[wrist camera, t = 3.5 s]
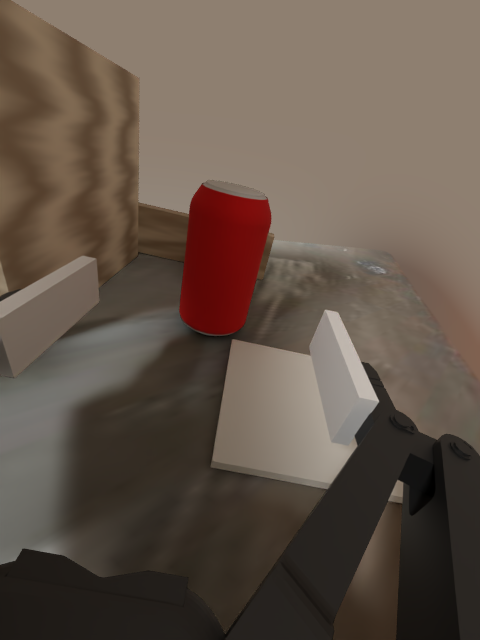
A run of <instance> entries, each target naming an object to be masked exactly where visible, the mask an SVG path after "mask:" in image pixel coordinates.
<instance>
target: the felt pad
mask: <svg viewBox="0 0 480 640" xmlns="http://www.w3.org/2000/svg"><path fill="white" fill-rule="evenodd" d="M356 447H357V442H356V439H355V437H354V439H353V440H352V441H351V443H350V444H349V446H347V445H342V444H337V443H332V442H331V440H330V436H329V432H328V427H327V423H326V419H325V414H324V410H323V406H322V401H321V397H320V393H319V388H318V384H317V379H316V375H315V371H314V366H313V362H312V358H311V356H310V355H305V354H301V353H296V352H291V351H287V350H282V349H277V348H272V347H268V346H263V345H258V344H254V343H249V342H244V341H239V340H235V339H232V343H231V348H230V354H229V360H228V366H227V372H226V378H225V384H224V389H223V395H222V401H221V407H220V413H219V419H218V425H217V431H216V437H215V443H214V449H213V455H212V461H211V467H212V468H217V469H222V470H228V471H233V472H238V473H244V474H249V475H254V476H259V477H265V478H270V479H275V480H281V481H286V482H291V483H296V484H302V485H307V486H312V487H318V488H323V489H328V487H329V486H330V485H331V483H332V482H333V480H334V479H335V477H336V476H337V475H338V473H339V472H340V470H341V469H342V467H343V466H344V465H345V463H346V462H347V460H348V458H349V457H350V456H351V454H352V453H353V452H354V450H355V449H356ZM388 501H392V502H397V503H402V501H403V482H401V481H399V480H397V482H396V484H395V487H394V489H393V491H392V493H391V495H390V498H389V500H388Z"/></svg>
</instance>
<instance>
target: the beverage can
mask: <svg viewBox="0 0 480 640" xmlns="http://www.w3.org/2000/svg"><path fill="white" fill-rule="evenodd" d="M270 224H271V211H270V207H269V203H268V199H267V197H266V196H265V194H264V193H262V192H260V191H258V190H255V189H252V188H249V187H245V186H241V185H237V184H233V183H228V182H222V181H214V180H207V181H206V182H205V183H202V185H201V186H200V188H199V189H198V190H197V192H196V193H195V195H194V196H193V198H192V201H191V204H190V211H189V221H188V230H187V240H186V250H185V260H184V269H183V279H182V289H181V298H180V308H179V312H180V316H181V319H182V321H183V322H184V323H185V324H186V325H187V326H188V327H189V328H191V329H192V330H194V331H196V332H199V333H202V334H205V335H210V336H225V335H229V334H232V333H235V332H236V331H238V330H239V329H241V328H242V327H243V325H244V324H245V321H246V317H247V314H248V310H249V306H250V302H251V298H252V294H253V290H254V287H255V283H256V279H257V275H258V271H259V267H260V263H261V259H262V256H263V252H264V248H265V244H266V240H267V236H268V232H269V228H270Z"/></svg>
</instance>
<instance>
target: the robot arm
mask: <svg viewBox="0 0 480 640" xmlns="http://www.w3.org/2000/svg"><path fill="white" fill-rule="evenodd" d="M99 302H100V299H99V285H98V272H97V259H96V258H92V257H87V256H81V257H79V258H77V259H76V260H74V261H72V262H70V263H68V264H67V265H65V266H63V267H61V268H59V269H58V270H56V271H54V272H52V273H51V274H49V275H47V276H45V277H43V278H42V279H40V280H38V281H36V282H34V283H33V284H31V285H29V286H27V287H26V288H24V289H18V290H15V291H11V292H8V293H5V294H3V295H1V296H0V376H5V377H10V378H15V377H16V376H18V375H19V374H20V373H21V372H22V371H23V370H24V369H25V368H26V367H28V366H29V365H30V364H31V363H32V362H33V361H34V360H35V359H36V358H38V357H39V356H40V355H41V354H42V353H43V352H44V351H45V350H46V349H48V348H49V347H50V346H51V345H52V344H53V343H54V342H55V341H56V340H58V339H59V338H60V337H61V336H62V335H63V334H64V333H65V332H66V331H68V330H69V329H70V328H71V327H72V326H73V325H74V324H75V323H77V322H78V321H79V320H80V319H81V318H82V317H83V316H84V315H85V314H87V313H88V312H89V311H90V310H91V309H92V308H93V307H94V306H95V305H97V304H98V303H99ZM309 349H310V353H311V358H312V362H313V366H314V371H315V375H316V379H317V384H318V388H319V393H320V397H321V401H322V406H323V410H324V414H325V419H326V423H327V427H328V432H329V436H330V440H331V442H332V443H337V444H342V445H347V446H349V444H350V443H351V441H352V440H353V439H354V437H355V439H356V442H357V447H356V449H355V450H354V452H353V453H352V454H351V456H350V457H349V458H348V460H347V462H346V463H345V465H344V466H343V467H342V469H341V470H340V472H339V473H338V475H337V476H336V477H335V479H334V480H333V482H332V483H331V485H330V486H329V487H328V489H327V490H326V492H325V493H324V495H323V496H322V497H321V499H320V500H319V502H318V503H317V505H316V506H315V507H314V509H313V510H312V512H311V513H310V515H309V516H308V517H307V519H306V520H305V522H304V523H303V525H302V526H301V527H300V529H299V530H298V532H297V533H296V535H295V536H294V537H293V539H292V540H291V542H290V543H289V545H288V546H287V547H286V549H285V550H284V552H283V553H282V555H281V556H280V558H279V559H278V560H277V562H276V563H275V565H274V566H273V568H272V569H271V570H270V572H269V573H268V575H267V576H266V578H265V579H264V580H263V582H262V583H261V585H260V586H259V588H258V589H257V590H256V592H255V593H254V595H253V596H252V597H251V599H250V600H249V602H248V603H247V604H246V606H245V607H244V609H243V610H242V611H241V613H240V614H239V616H238V617H237V619H236V620H235V621H234V623H233V624H232V626H231V627H230V629H229V630H228V631H227V633H226V634H224V631H223V629H222V627H221V625H220V623H219V621H218V619H217V618H216V616H215V615H214V613H213V612H212V610H211V609H210V608H209V607H208V605H207V604H206V603H205V602H204V601H203V600H202V599H201V598H200V597H199V596H197V595H196V594H195V593H194V592H192V591H190V590H189V589H187V583H188V577H182V576H177V575H171V574H165V573H160V572H154V571H143V572H137V573H131V574H124V575H118V576H112V577H105V578H102V577H99V576H97V575H95V574H93V573H92V572H90V571H88V570H87V569H85V568H84V567H82V566H80V565H79V564H77V563H75V562H74V561H72V560H70V559H69V558H67V557H66V556H63V555H57V554H52V553H46V552H40V551H35V550H29V549H22V551H21V553H20V554H19V556H18V557H17V559H16V561H13V562H9V563H5V564H2V565H0V640H332V638H333V634H334V627H333V622H334V619H335V616H336V614H337V611H338V609H339V607H340V605H341V603H342V600H343V598H344V596H345V594H346V592H347V589H348V587H349V585H350V583H351V581H352V579H353V576H354V574H355V572H356V570H357V568H358V565H359V563H360V561H361V559H362V557H363V554H364V552H365V550H366V548H367V546H368V544H369V541H370V539H371V537H372V535H373V533H374V530H375V528H376V526H377V524H378V522H379V519H380V517H381V515H382V513H383V511H384V509H385V506H386V504H387V502H388V500H389V498H390V495H391V493H392V491H393V489H394V487H395V484H396V482H397V480H399V481H401V482H403V501H402V523H401V545H400V567H399V589H398V611H397V634H396V640H480V456H479V454H478V453H477V452H476V451H475V450H474V448H473V447H472V446H471V445H469V444H468V443H467V442H466V441H464V440H462V439H461V438H459V437H457V436H454V435H451V434H444V435H442V436H441V437H440V438H439V439H438V440H436V439H434V438H431V437H429V436H427V435H425V434H423V433H420V432H419V431H418V429H417V427H416V425H415V424H414V423H413V421H412V420H411V419H410V418H409V417H407V416H406V415H405V414H403V413H401V412H399V411H397V410H396V409H395V407H394V405H393V403H392V401H391V399H390V397H389V395H388V393H387V391H386V389H385V388H384V385H383V383H382V381H380V378H379V376H378V374H377V372H376V371H375V370H374V368H373V367H372V366H371V365H370V364H369V363H364V362H361V361H360V359H359V357H358V355H357V352H356V350H355V348H354V346H353V344H352V342H351V340H350V337H349V335H348V333H347V331H346V329H345V327H344V324H343V322H342V320H341V318H340V316H339V314H338V312H334V311H330V310H325V311H324V313H323V316H322V318H321V320H320V323H319V325H318V327H317V329H316V332H315V334H314V336H313V339H312V341H311V343H310V346H309Z"/></svg>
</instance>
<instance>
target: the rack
mask: <svg viewBox="0 0 480 640" xmlns="http://www.w3.org/2000/svg"><path fill="white" fill-rule="evenodd" d="M138 181H139V78H138V77H137V76H135V75H133V74H131V73H130V72H128V71H127V70H125V69H123V68H122V67H120V66H118V65H117V64H115V63H113V62H112V61H110V60H108V59H107V58H105V57H104V56H102V55H100V54H99V53H97V52H95V51H94V50H92V49H90V48H89V47H87V46H85V45H84V44H82V43H80V42H79V41H77V40H76V39H74V38H72V37H71V36H69V35H67V34H65V33H64V32H62V31H61V30H59V29H57V28H56V27H54V26H52V25H51V24H49V23H47V22H46V21H44V20H42V19H41V18H39V17H37V16H36V15H34V14H33V13H31V12H29V11H28V10H26V9H24V8H23V7H21V6H19V5H18V4H16V3H15V2H13V1H11V0H0V296H1V295H3V294H5V293H8V292H11V291H15V290H18V289H24V288H26V287H27V286H29V285H31V284H33V283H34V282H36V281H38V280H40V279H42V278H43V277H45V276H47V275H49V274H51V273H52V272H54V271H56V270H58V269H59V268H61V267H63V266H65V265H67V264H68V263H70V262H72V261H74V260H76V259H77V258H79V257H81V256H87V257H92V258H96V259H97V272H98V285H99V287H101V286H102V285H103V284H104V283H105V282H107V281H108V280H109V279H110V278H112V277H113V276H114V275H115V274H116V273H118V272H119V271H120V270H121V269H123V268H124V267H125V266H126V265H127V264H129V263H130V262H131V261H132V260H133V259H135V258H136V257H137V256H138V252H140V253H144V254H149V255H153V256H158V257H162V258H167V259H171V260H176V261H180V262H184V260H185V250H186V240H187V230H188V221H189V214H186V213H182V212H178V211H173V210H169V209H165V208H160V207H156V206H151V205H147V204H143V203H139V202H138V190H139V189H138V186H139V185H138V184H139V183H138ZM273 240H274V234H272V233H268V236H267V240H266V244H265V248H264V252H263V256H262V259H261V263H260V267H259V271H258V275H257V279H261V280H263V276H264V273H265V269H266V265H267V262H268V258H269V254H270V251H271V247H272V243H273Z"/></svg>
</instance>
